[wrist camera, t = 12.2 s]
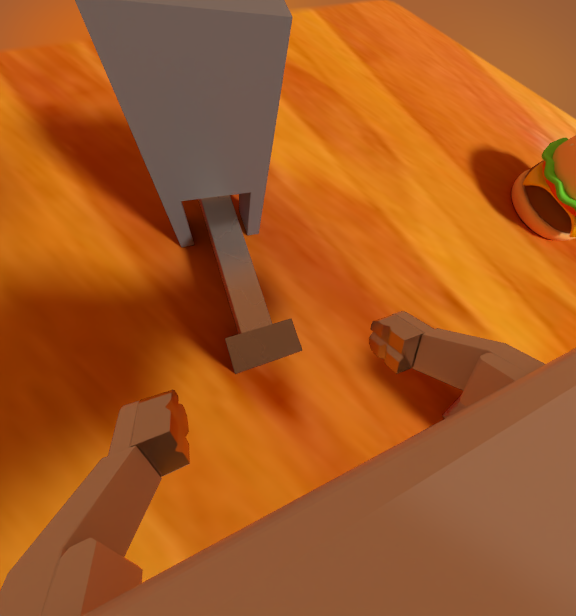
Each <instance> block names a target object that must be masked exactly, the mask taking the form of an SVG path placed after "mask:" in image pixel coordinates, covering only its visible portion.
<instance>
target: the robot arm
mask: <svg viewBox="0 0 576 616" xmlns="http://www.w3.org/2000/svg"><path fill="white" fill-rule="evenodd" d="M371 330H372V331H373V333H372V334H371V336H370V337H369V345H370V348H371V350H372V351H373V353H374V354H375V355H376V356H377V357H380V358H383V359H384V361H385V364H386V365H387V366H388V367H389V368H390V369H391V370H393V371H394V372H395V373H396V374H398V373H400V372H403V371H405V370H408V369H410V368H413V369H415V370H417V371H419V372H422V373H424V374H426V375H429V376H431V377H433V378H435V379H438V380H440V381H442V382H445V383H447V384H449V385H452V386H454V387H456V388H459V389H461V390H463V393H462V395H461V397H460V402H461V403H462V404H463V405H465V406H466V408H464V409H462V410H460V411H458V412H456V413H455V414H453V415H451V416H449V417H447V418H445V419H444V420H442V421H440V422H438V423H436V424H434V425H432V426H431V427H429V428H427V429H425V430H423V431H421V432H420V433H418V434H416V435H414V436H412V437H410V438H408V439H407V440H405V441H403V442H401V443H399V444H397V445H396V446H394V447H392V448H390V449H388V450H386V451H385V452H383V453H381V454H379V455H377V456H375V457H373V458H372V459H370V460H368V461H366V462H364V463H362V464H361V465H359V466H357V467H355V468H353V469H351V470H349V471H348V472H346V473H344V474H342V475H340V476H338V477H337V478H335V479H333V480H331V481H329V482H327V483H325V484H324V485H322V486H320V487H318V488H316V489H314V490H313V491H311V492H309V493H307V494H305V495H303V496H301V497H300V498H298V499H296V500H294V501H292V502H290V503H289V504H287V505H285V506H283V507H281V508H279V509H277V510H276V511H274V512H272V513H270V514H268V515H266V516H265V517H263V518H261V519H259V520H257V521H255V522H254V523H252V524H250V525H248V526H246V527H244V528H242V529H241V530H239V531H237V532H235V533H233V534H231V535H230V536H228V537H226V538H224V539H222V540H220V541H219V542H217V543H215V544H213V545H211V546H209V547H207V548H206V549H204V550H202V551H200V552H198V553H196V554H195V555H193V556H191V557H189V558H187V559H185V560H183V561H182V562H180V563H178V564H176V565H174V566H172V567H171V568H169V569H167V570H165V571H163V572H161V573H160V574H158V575H156V576H154V577H152V578H150V579H148V580H147V581H145V582H143V583H142V571H143V570H142V569H141V568H140V567H139V566H138V565H136V564H134V563H133V562H131V561H129V560H128V559H126V558H124V556H125V554H126V552H127V550H128V548H129V546H130V544H131V542H132V539H133V537H134V535H135V533H136V531H137V529H138V527H139V525H140V523H141V521H142V519H143V516H144V514H145V512H146V510H147V508H148V506H149V504H150V502H151V500H152V498H153V496H154V494H155V491H156V489H157V487H158V485H159V483H160V481H161V479H162V478H161V477H162V476H164V475H166V474H168V473H171V472H173V471H175V470H177V469H179V468H181V467H184V466H186V465H188V464H190V456H189V443H188V441H187V439H186V435H187V434H188V432H189V428H188V420H187V415H186V412H185V409H184V407H183V405H182V404H179V403H178V395H177V393H176V392H175V390H170V391H167V392H164V393H160V394H157V395H154V396H151V397H148V398H145V399H141V400H140V401H136V402H133V403H130V404H127V405H124V406H122V408H121V409H120V411H119V415H118V419H117V423H116V426H115V430H114V434H113V438H112V442H111V446H110V450H109V454H108V456H107V457H104V458H102V459H101V460H100V461H99V463H98V464H97V465H96V466H95V468H94V469H93V470H92V471H91V472H90V474H89V475H88V476H87V477H86V479H85V480H84V481H83V482H82V483H81V485H80V486H79V487H78V488H77V490H76V491H75V492H74V493H73V495H72V496H71V497H70V498H69V499H68V501H67V502H66V503H65V504H64V506H63V507H62V508H61V509H60V510H59V512H58V513H57V514H56V515H55V517H54V518H53V519H52V520H51V521H50V523H49V524H48V525H47V526H46V528H45V529H44V530H43V531H42V532H41V534H40V535H39V536H38V537H37V539H36V540H35V541H34V542H33V543H32V545H31V546H30V547H29V548H28V550H27V551H26V552H25V553H24V555H23V556H22V557H21V558H20V559H19V561H18V562H17V563H16V564H15V566H14V567H13V568H12V569H11V570H10V572H9V573H8V575H7V577H6V579H5V581H4V584H3V586H2V588H1V591H0V616H576V348H575V349H573V350H571V351H569V352H567V353H565V354H564V355H562V356H560V357H558V358H556V359H554V360H552V361H551V362H549V363H547V364H544V363H542V362H540V361H538V360H536V359H534V358H532V357H531V356H529V355H527V354H525V353H523V352H521V351H519V350H517V349H515V348H513V347H511V346H509V345H507V344H506V343H501V342H497V341H492V340H488V339H483V338H479V337H474V336H469V335H465V334H460V333H456V332H451V331H447V330H442V329H438V328H437V329H433V328H432V327H430V326H428V325H427V324H425V323H423V322H422V321H420V320H418V319H417V318H415V317H413V316H412V315H410V314H408V313H407V312H404V311H401V312H398V313H395V314H392V315H390V316H387V317H384V318H381V319H378V320H375V321H373V322H372V324H371Z"/></svg>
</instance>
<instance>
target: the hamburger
mask: <svg viewBox="0 0 576 616" xmlns="http://www.w3.org/2000/svg"><path fill="white" fill-rule="evenodd" d="M542 159H543V161H541V162H540V163H538V164H537V165H535V166H534V167H532V168H531V169H529V170H526V171H524V172H523V173H522V174H521V175H519V176H518V178H517V179H516V181H515V182H514V184H513V187H512V193H511V197H512V202H513V205H514V208H515V210H516V212H517V214H518V215H519V217H520V218H521V219H522V221H523V222H524V223H525V224H526V225H527V226H528V227H529V228H530V229H531V230H532V231H534V232H535V233H537V234H538V235H540V236H542V237H544V238H547V239H550V240H556V241H561V240H571V239H574V238H576V136H574V137H572V138H570V139H569V140H568V139H567V138H562V139H559V140H557V141H554V142H552V143H550V144H549V146H548V147H547V148H546V149H545V150H544V152H543V154H542Z"/></svg>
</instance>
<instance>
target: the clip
mask: <svg viewBox="0 0 576 616" xmlns="http://www.w3.org/2000/svg"><path fill="white" fill-rule="evenodd" d="M75 1H76V4H77V6H78V8H79V11H80V13H81V15H82V18H83V20H84V22H85V25H86V27H87V29H88V32H89V34H90V36H91V39H92V41H93V43H94V45H95V48H96V50H97V52H98V55H99V57H100V59H101V62H102V64H103V66H104V69H105V71H106V73H107V76H108V78H109V80H110V83H111V85H112V87H113V90H114V92H115V94H116V97H117V99H118V101H119V104H120V106H121V108H122V111H123V113H124V115H125V118H126V120H127V122H128V124H129V127H130V129H131V131H132V134H133V136H134V138H135V141H136V143H137V145H138V148H139V150H140V152H141V155H142V157H143V159H144V162H145V164H146V166H147V169H148V171H149V173H150V176H151V178H152V180H153V183H154V185H155V187H156V190H157V192H158V194H159V196H160V199H161V201H162V203H163V206H164V208H165V210H166V213H167V215H168V217H169V220H170V222H171V224H172V227H173V229H174V231H175V234H176V236H177V238H178V241H179V243H180V245H181V247H186V246H191V245H194V242H193V238H192V235H191V231H190V227H189V224H188V220H187V217H186V214H185V211H184V207H183V204H182V201H187V200H194V199H202V198H210V197H218V196H226V195H234V194H239V212H240V215H241V218H242V221H243V224H244V227H245V230H246V233H247V235H252V234H258V233H259V227H260V221H261V215H262V208H263V202H264V195H265V189H266V183H267V176H268V170H269V164H270V157H271V151H272V144H273V138H274V132H275V125H276V119H277V112H278V106H279V100H280V93H281V87H282V80H283V74H284V68H285V61H286V55H287V48H288V42H289V36H290V29H291V23H292V15H291V13H290V11H289V9H288V7H287V5H286V3H285V1H284V0H75Z"/></svg>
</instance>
